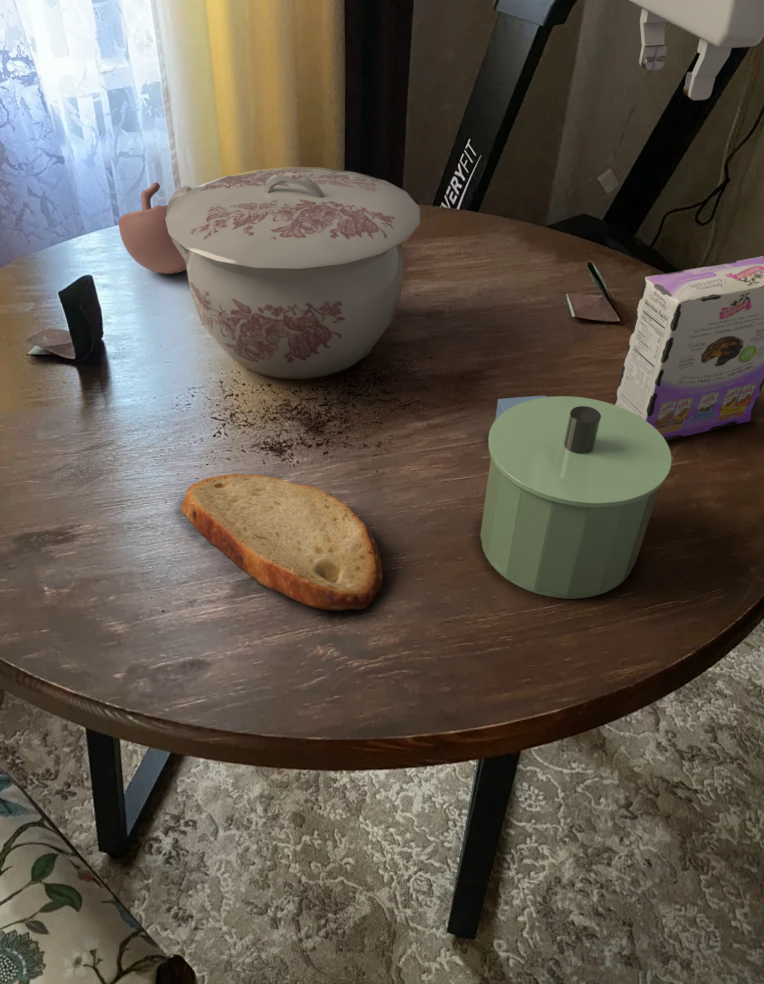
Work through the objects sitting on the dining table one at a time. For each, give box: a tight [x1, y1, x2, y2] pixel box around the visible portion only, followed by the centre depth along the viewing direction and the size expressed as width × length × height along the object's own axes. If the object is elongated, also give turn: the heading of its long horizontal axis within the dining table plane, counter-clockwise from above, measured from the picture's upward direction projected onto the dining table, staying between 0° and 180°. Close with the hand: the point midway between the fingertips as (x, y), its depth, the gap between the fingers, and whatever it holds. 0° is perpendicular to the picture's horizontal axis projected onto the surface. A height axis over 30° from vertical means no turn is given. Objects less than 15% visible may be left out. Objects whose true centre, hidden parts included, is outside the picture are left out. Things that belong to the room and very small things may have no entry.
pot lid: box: [487, 395, 673, 508], centre depth 68 cm, size 15×15×4 cm
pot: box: [479, 457, 660, 600], centre depth 72 cm, size 14×14×10 cm
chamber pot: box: [165, 166, 421, 380], centre depth 95 cm, size 28×28×21 cm
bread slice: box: [181, 473, 384, 611], centre depth 74 cm, size 18×18×4 cm
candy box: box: [613, 255, 764, 442], centre depth 84 cm, size 14×6×16 cm, turn 108°
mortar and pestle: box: [118, 182, 187, 275], centre depth 114 cm, size 12×12×11 cm
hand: (672, 82), depth 73 cm, fingers open, 8 cm apart
